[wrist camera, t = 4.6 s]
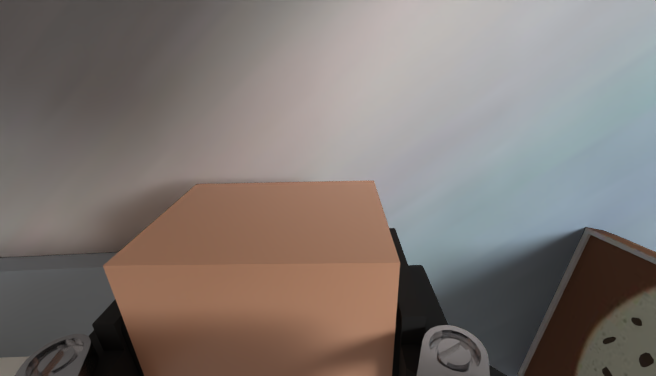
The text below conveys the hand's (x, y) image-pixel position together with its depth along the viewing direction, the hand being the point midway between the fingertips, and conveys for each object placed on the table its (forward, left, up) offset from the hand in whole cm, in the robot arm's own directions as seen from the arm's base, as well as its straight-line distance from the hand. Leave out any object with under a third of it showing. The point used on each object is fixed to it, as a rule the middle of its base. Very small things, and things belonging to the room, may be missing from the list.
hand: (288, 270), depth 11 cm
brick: (0, 0, -1) cm, 1 cm away
